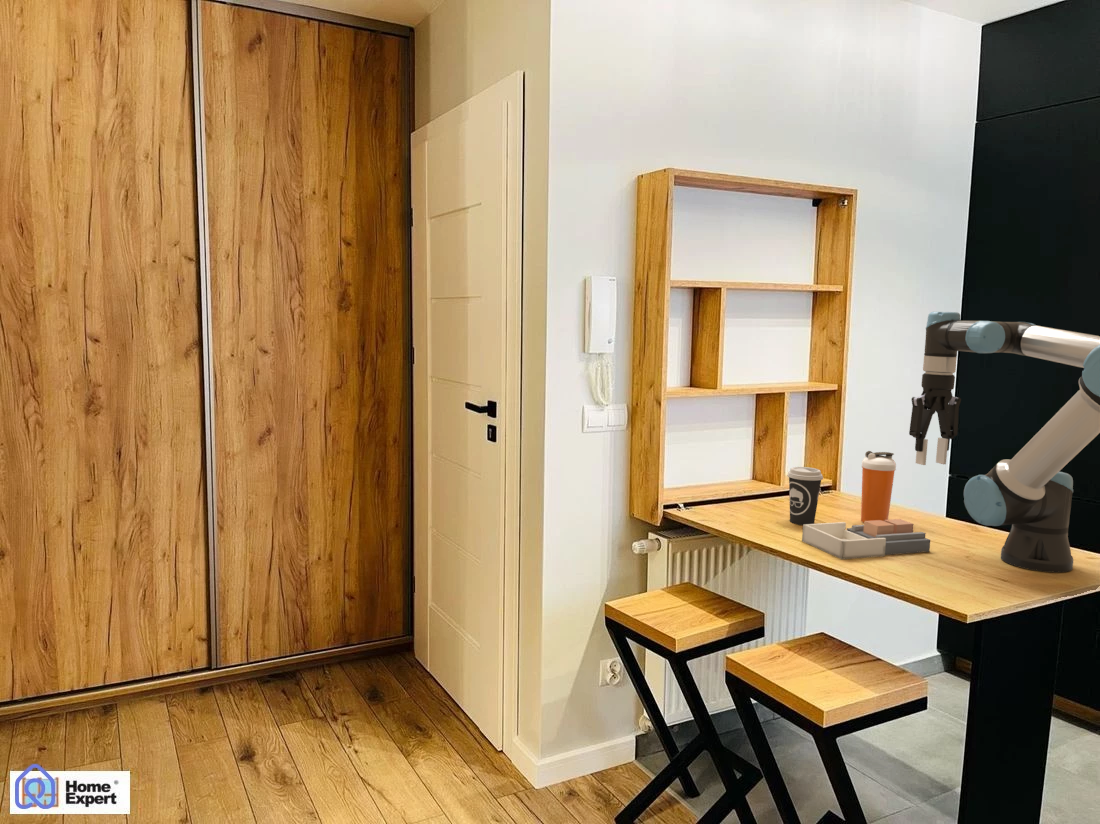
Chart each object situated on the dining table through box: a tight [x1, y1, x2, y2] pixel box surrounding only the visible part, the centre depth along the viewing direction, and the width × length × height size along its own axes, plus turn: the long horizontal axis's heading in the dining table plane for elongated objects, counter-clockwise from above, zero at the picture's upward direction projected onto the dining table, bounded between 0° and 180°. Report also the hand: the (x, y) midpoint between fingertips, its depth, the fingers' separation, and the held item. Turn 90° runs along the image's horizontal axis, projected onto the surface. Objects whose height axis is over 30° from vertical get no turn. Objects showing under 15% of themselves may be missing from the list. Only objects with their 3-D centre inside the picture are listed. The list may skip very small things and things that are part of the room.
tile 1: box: [863, 520, 894, 537], centre depth 215 cm, size 5×5×3 cm
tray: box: [801, 521, 886, 560], centre depth 212 cm, size 16×12×4 cm
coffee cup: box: [787, 466, 824, 526], centre depth 236 cm, size 10×10×15 cm
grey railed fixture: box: [846, 524, 931, 556], centre depth 216 cm, size 14×14×4 cm
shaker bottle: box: [860, 450, 897, 524], centre depth 239 cm, size 9×9×20 cm
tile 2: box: [884, 518, 914, 534], centre depth 217 cm, size 5×5×3 cm
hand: (930, 463), depth 217 cm, fingers open, 6 cm apart
